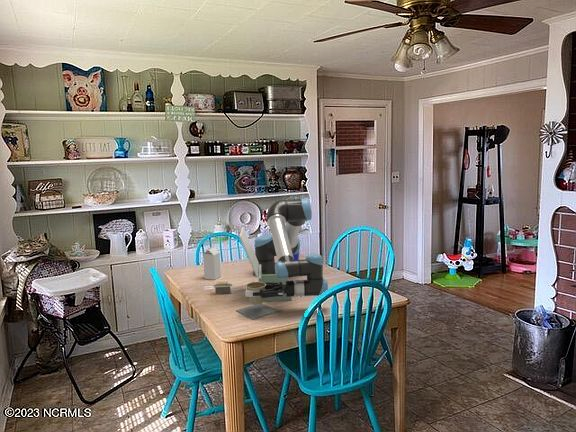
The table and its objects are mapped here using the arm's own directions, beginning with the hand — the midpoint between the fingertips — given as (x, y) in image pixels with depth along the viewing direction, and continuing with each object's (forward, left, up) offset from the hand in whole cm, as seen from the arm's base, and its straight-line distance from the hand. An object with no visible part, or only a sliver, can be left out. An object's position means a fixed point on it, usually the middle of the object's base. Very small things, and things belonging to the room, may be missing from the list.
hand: (245, 290), depth 206 cm
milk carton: (-60, +16, -11) cm, 63 cm away
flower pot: (+3, +4, -6) cm, 8 cm away
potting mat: (+3, +4, -10) cm, 11 cm away
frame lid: (-21, +17, +13) cm, 30 cm away
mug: (-55, +72, -11) cm, 91 cm away
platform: (-32, +6, -11) cm, 34 cm away
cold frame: (-13, +27, -10) cm, 32 cm away
